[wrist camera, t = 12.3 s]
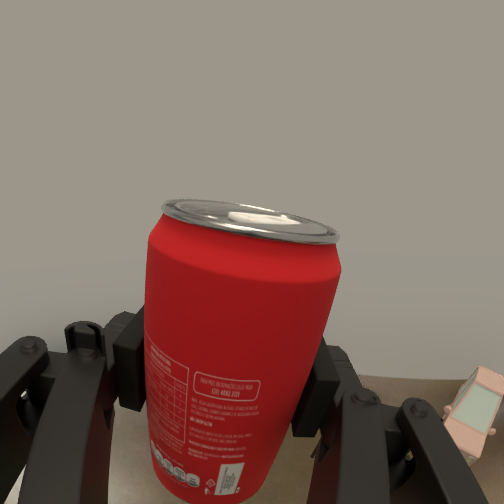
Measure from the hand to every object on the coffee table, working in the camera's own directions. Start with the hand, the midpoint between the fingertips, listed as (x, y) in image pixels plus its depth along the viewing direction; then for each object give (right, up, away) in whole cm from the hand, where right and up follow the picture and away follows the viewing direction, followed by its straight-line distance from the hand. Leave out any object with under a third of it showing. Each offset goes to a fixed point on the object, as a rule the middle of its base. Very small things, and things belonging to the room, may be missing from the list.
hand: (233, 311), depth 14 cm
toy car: (+29, -24, +11) cm, 39 cm away
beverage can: (-1, -8, -3) cm, 9 cm away
